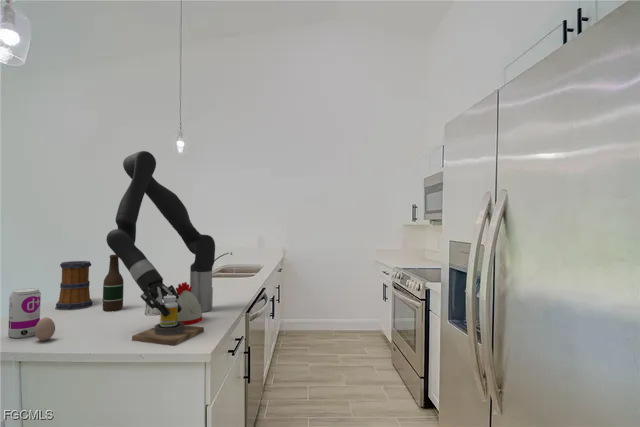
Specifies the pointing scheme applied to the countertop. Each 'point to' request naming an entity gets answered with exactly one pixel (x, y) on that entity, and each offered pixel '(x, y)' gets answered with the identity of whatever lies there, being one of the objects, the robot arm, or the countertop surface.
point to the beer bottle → (113, 287)
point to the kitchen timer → (188, 305)
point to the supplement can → (24, 312)
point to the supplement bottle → (173, 309)
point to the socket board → (167, 338)
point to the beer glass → (151, 310)
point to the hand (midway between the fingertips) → (173, 313)
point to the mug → (74, 286)
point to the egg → (45, 329)
